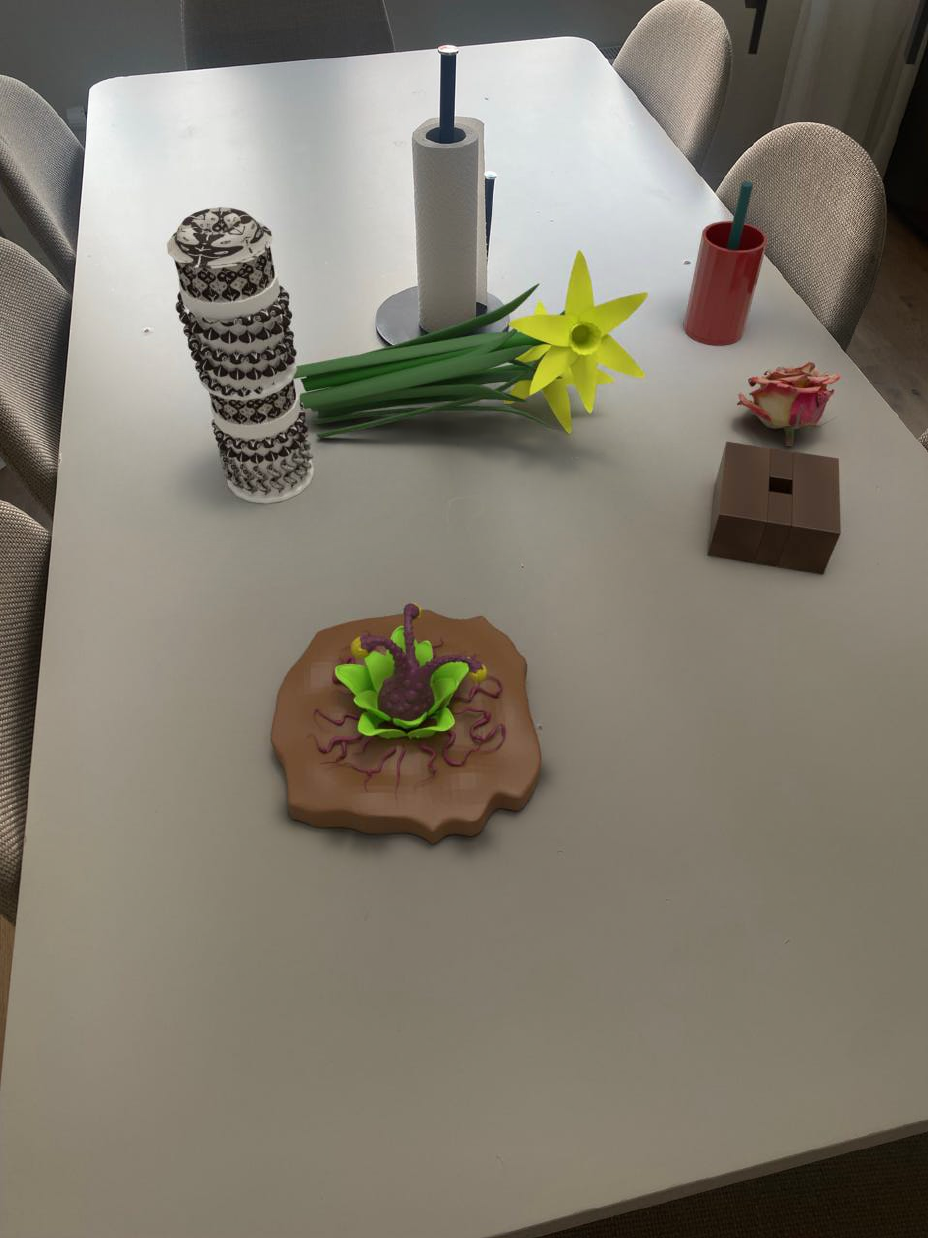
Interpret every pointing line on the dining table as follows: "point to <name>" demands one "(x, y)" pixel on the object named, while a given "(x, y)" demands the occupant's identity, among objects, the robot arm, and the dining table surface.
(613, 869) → the dining table surface
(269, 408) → the decorative candle
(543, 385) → the daffodil flowers
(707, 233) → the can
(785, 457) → the holder
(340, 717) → the plant
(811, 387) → the flower
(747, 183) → the straw
